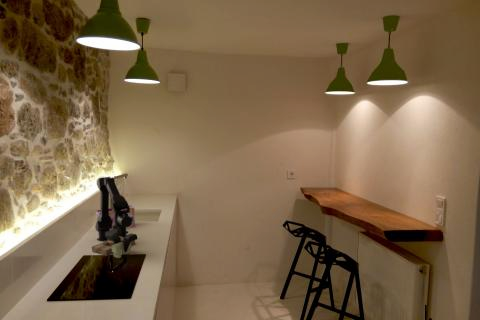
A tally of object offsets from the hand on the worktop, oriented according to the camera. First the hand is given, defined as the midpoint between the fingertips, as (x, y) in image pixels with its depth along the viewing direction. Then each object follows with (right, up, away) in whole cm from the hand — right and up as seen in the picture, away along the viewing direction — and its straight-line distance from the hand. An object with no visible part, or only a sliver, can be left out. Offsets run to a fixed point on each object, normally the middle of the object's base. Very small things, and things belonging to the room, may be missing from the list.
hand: (121, 251), depth 184 cm
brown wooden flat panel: (-8, -1, +10) cm, 13 cm away
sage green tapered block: (0, -2, 0) cm, 2 cm away
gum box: (-19, +3, +45) cm, 49 cm away
